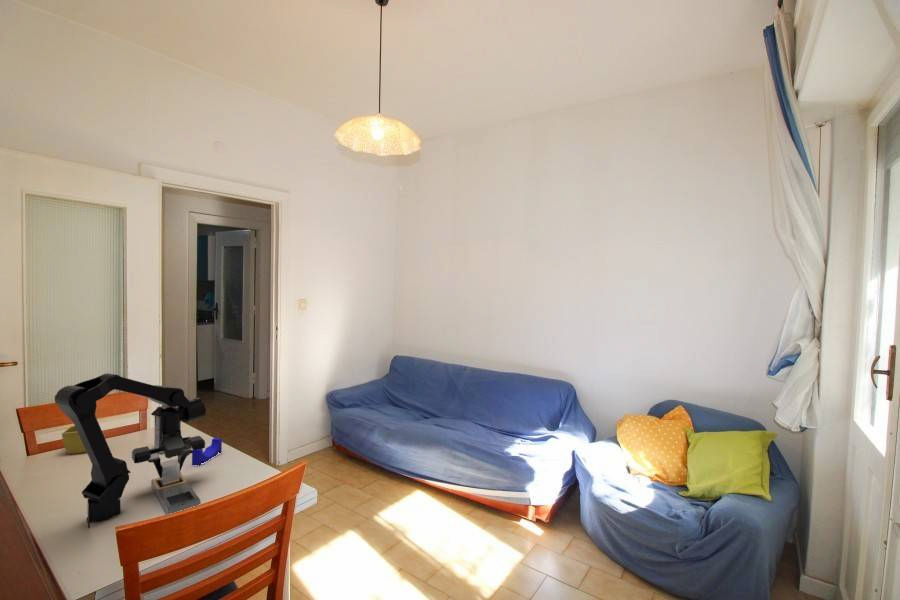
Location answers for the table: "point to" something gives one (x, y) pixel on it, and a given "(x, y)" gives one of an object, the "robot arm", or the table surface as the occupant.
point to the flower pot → (72, 441)
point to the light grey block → (170, 472)
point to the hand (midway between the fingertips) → (169, 475)
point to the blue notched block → (207, 452)
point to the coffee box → (156, 441)
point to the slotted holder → (175, 495)
